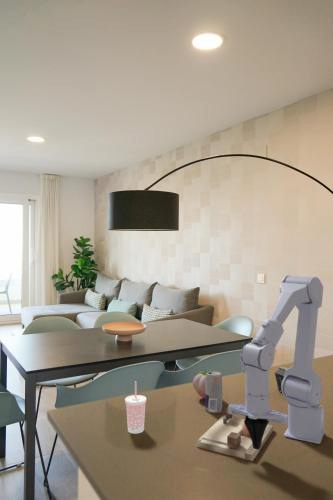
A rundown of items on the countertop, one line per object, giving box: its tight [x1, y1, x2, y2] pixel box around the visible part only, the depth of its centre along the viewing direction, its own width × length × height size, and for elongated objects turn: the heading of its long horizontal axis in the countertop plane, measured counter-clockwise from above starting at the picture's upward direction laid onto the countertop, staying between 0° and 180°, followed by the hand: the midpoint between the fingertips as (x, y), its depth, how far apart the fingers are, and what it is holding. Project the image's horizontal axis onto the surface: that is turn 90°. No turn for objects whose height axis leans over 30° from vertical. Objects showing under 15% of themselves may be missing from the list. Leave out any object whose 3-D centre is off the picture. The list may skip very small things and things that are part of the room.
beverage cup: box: [124, 380, 147, 434], centre depth 117 cm, size 6×6×14 cm
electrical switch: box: [274, 366, 301, 393], centre depth 145 cm, size 9×5×9 cm, turn 30°
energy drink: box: [204, 370, 223, 414], centre depth 132 cm, size 5×5×12 cm
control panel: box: [196, 414, 274, 462], centre depth 112 cm, size 15×19×3 cm
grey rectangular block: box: [225, 413, 233, 420], centre depth 120 cm, size 1×3×3 cm, turn 151°
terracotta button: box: [241, 422, 251, 438], centre depth 112 cm, size 4×4×3 cm
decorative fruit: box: [192, 371, 207, 400], centre depth 141 cm, size 9×8×10 cm
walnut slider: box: [227, 432, 242, 449], centre depth 105 cm, size 2×3×2 cm
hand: (257, 447), depth 102 cm, fingers closed
